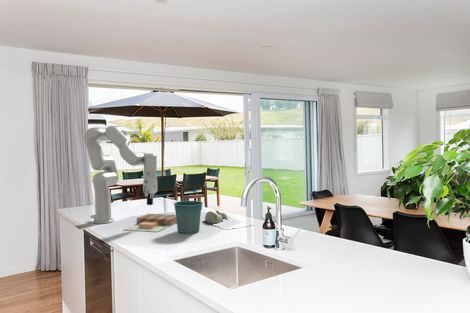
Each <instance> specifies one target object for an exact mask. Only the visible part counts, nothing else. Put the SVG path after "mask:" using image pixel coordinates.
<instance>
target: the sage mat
mask: <svg viewBox="0 0 470 313" xmlns="http://www.w3.org/2000/svg"><path fill="white" fill-rule="evenodd" d="M167 228H170V226H160V225H157V227H155V228H153V229H145V228H139V225H138V224H137V223H136V224H133V225H131V226H128V227H126V228H124V229H123V231H131V232H148V233H159V232H161V231H163V230H165V229H167Z"/></svg>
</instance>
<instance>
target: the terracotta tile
mask: <svg viewBox="0 0 470 313" xmlns="http://www.w3.org/2000/svg"><path fill="white" fill-rule="evenodd" d="M138 225H139V228H145V229H153V228H155V227H157V223H156V222H142V223H140V224H138Z"/></svg>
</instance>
